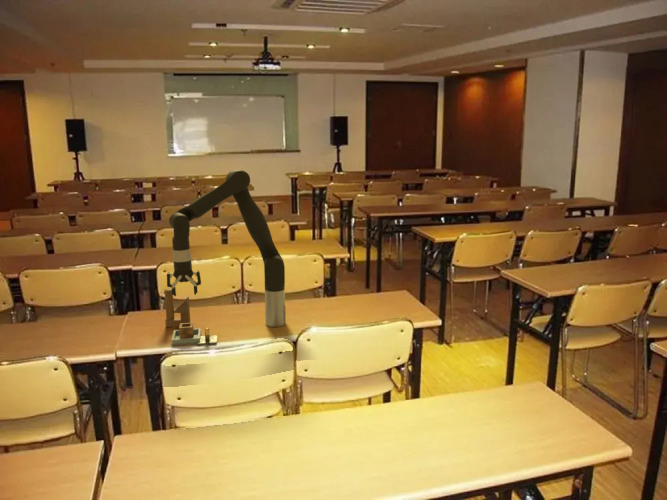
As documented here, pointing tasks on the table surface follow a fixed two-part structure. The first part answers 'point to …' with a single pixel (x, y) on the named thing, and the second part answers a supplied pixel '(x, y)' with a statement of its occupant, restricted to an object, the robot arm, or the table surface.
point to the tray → (185, 341)
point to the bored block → (186, 330)
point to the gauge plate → (205, 342)
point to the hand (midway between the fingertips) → (185, 294)
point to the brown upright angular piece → (176, 310)
